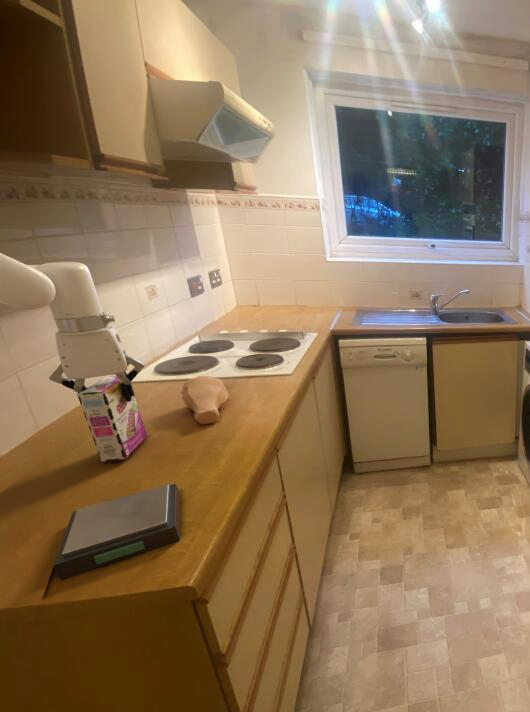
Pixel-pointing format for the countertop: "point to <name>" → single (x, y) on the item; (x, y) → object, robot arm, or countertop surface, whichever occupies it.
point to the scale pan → (117, 520)
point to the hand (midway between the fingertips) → (110, 402)
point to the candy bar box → (112, 419)
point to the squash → (205, 398)
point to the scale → (121, 543)
